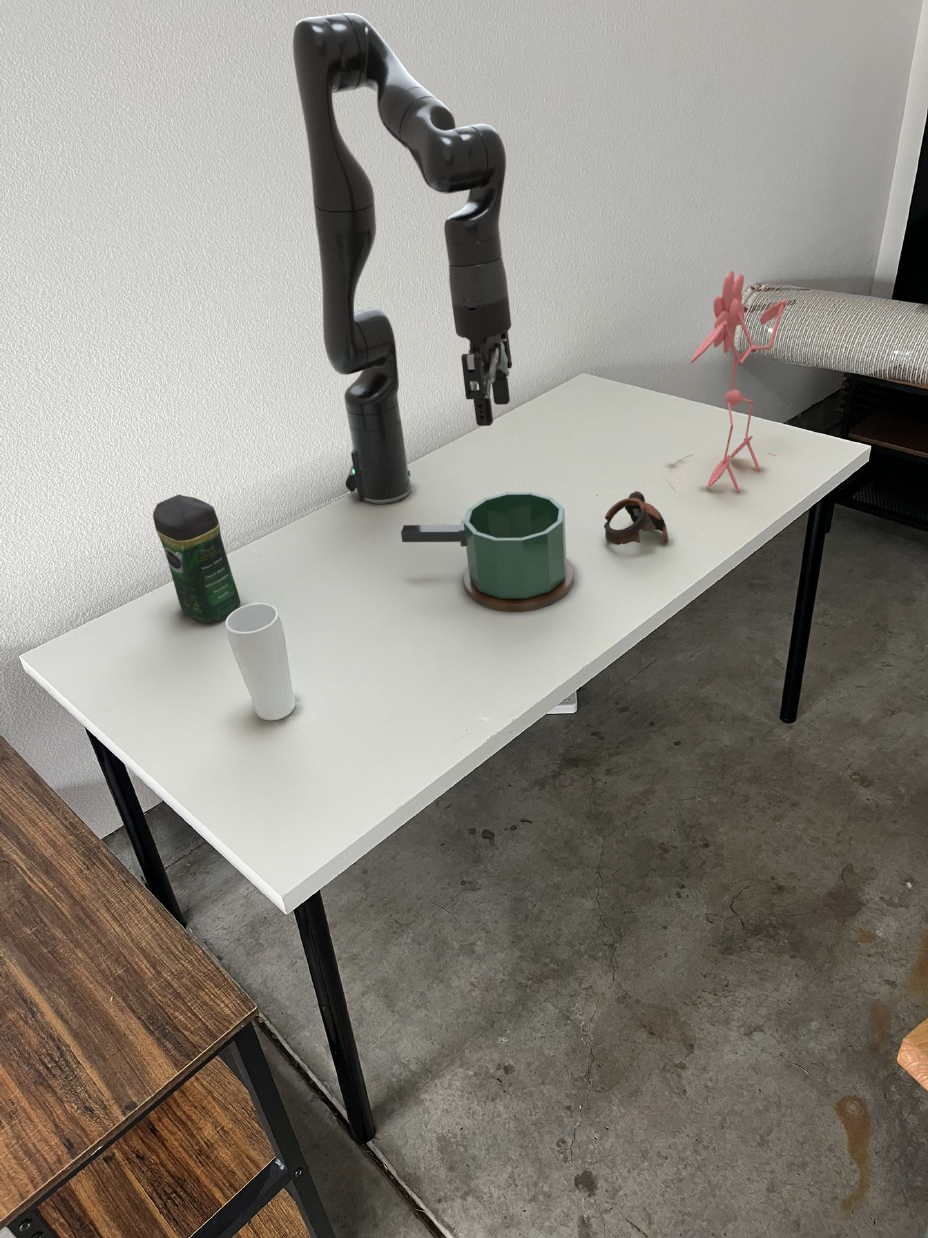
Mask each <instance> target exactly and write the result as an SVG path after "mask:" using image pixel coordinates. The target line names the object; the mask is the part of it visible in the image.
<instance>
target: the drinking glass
mask: <svg viewBox="0 0 928 1238" xmlns="http://www.w3.org/2000/svg"><path fill="white" fill-rule="evenodd" d="M224 623H225V624H224V625H225V630H226V633H227V634H226V635H227V637H228V641H229V645H230V649H231V651H232V654H233V656H234V657H233V658H234V659H235V662H236V664H237V667H238V669H239V671H240V674H241V677H242V679H243V682H244V684H245V687H246V689H247V691H248V694H249V696H250V699H251V701H252V704H253V708H254V711H255V713H256V715H257V716H258V717H259V718H260V719H262V720H265V721H278V720H282V719H284V718H286V717H288V716H289V715H290V714H291V713H292V712H293V711H294V709H295V706H296V699H295V694H294V689H293V684H292V676H291V670H290V664H289V657H288V648H287V642H286V641H287V640H286V636H285V632H284V628H283V624H282V621H281V617H280V614H279V611H278V609H277V608H276V607H275V606H273V605H272V604H269V603H263V602H257V603H256V602H255V603H250V604H246V605H243V606H239V608H238V609H236V610H235V611H233V612H232V613H231V614H230V615H229V616H228V617H227V618H225V622H224Z"/></svg>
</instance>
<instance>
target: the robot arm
mask: <svg viewBox="0 0 928 1238" xmlns="http://www.w3.org/2000/svg"><path fill="white" fill-rule="evenodd" d="M292 54H293V64H294V71H295V76H296V82H297V89H298V94H299V99H300V104H301V110H302V116H303V121H304V127H305V133H306V140H307V145H308V146H307V147H308V156H309V165H310V172H311V185H312V186H311V187H312V201H313V211H314V220H315V221H314V222H315V229H316V236H317V243H318V251H319V252H318V253H319V260H320V262H319V263H320V272H321V273H320V274H321V288H322V291H321V292H322V293H321V294H322V333H323V334H322V335H323V343H324V344H323V345H324V349H325V353H326V355H327V359H328V361H329V364H330V366H331V367H332V368H333V370H334V371H335V372H336V373H338V374H340V375H343V376H348V375H352V374H353V375H354V374H356V373H359V372H360V374H359V376H358V377H357V378H356V379H355V381H353V382H352V383H351V384H350V385H349V386H348V387H347V388H346V390H345V391H344V394H343V395H344V396H343V399H344V406H345V410H346V411H345V412H346V417H347V420H348V421H347V422H348V426H349V427H348V428H349V433H350V439H351V445H352V449H351V452H350V457H351V463H352V465H351V466H350V469H349V472H348V476H347V478H346V479H345V487H346V488H347V490H348V491H349V492H350V493H353V492H355V491H356V490H357V496H358V501H359V502H366V503H369V504H370V503H371V504H375V505H385V504H390V503H395V502H398V501H401V500H403V499H405V498H406V497H408V496H409V494H410V493H411V492H412V485H411V481H410V478H411V472H410V470H409V468H408V467H409V466H408V460H407V453H406V446H405V440H404V433H403V432H404V431H403V426H402V419H401V412H400V404H399V396H398V393H399V389H400V379H399V369H398V356H397V345H396V344H397V343H396V338H395V332H394V330H393V326H392V324H391V321H390V319H389V318H388V316H387V315H386V313H385V312H384V311H382V310H381V309H379V308H377V307H367V308H364V309H363V308H362V309H360V310H357V311H355V297H356V293H357V287H358V285H359V281H360V279H361V276H362V274H363V271H364V269H365V267H366V264H367V262H368V260H369V258H370V255H371V252H372V250H373V248H374V247H373V246H374V243H375V239H376V234H377V219H376V218H377V217H376V203H375V192H374V187H373V184H372V182H371V180H370V178H369V176H368V174H367V173H366V171H365V170H364V168H363V166H362V165H361V163H360V162H359V161H358V159H357V157H356V155H354V154H353V152H352V151H351V149H350V148H349V146H348V145H347V143H346V142H345V139H344V137H343V136H342V134H341V132H340V129H339V127H338V122H337V119H336V115H335V109H334V101H333V94H337V93H343V92H349V91H355V90H360V89H361V88H367V89H369V90H372V91H373V92H376V110H377V114H378V117H379V120H380V122H381V124H382V126H383V127H384V129H385V130H386V131H387V133H388V134H389V135H390V136H391V137H392V138H393V139H395V141H397V142H398V143H399V144H400V145H401V146H402V147H403V148H404V149H406V150H407V151H408V152H409V153H410V156H411V157H412V159H413V161H414V163H415V165H416V167H417V168H418V170H419V173H420V175H421V178H422V180H423V181H424V182H425V184H426V186H427V187H428V188H430V190H433V191H434V192H436V193H439V194H442V195H452V194H457V193H462V192H466V191H469V192H468V194H467V195H468V196H467V199H466V203H465V204H464V205H463V207H462V208H460V209H459V210H457V211H455V212H454V213H452V214H450V215H449V216H448V217H446V219H445V221H444V225H443V230H444V231H443V232H444V233H443V234H444V240H445V246H446V254H447V262H448V283H449V284H448V285H449V292H450V300H451V306H452V314H453V322H454V329H455V333H456V335H457V336H458V337H459V338H462V339H466V340H468V341H469V349H468V353H462V354H461V357H460V359H461V366H462V374H463V375H462V376H463V384H464V393H465V394H464V395H465V399H466V400H473V407H474V414H475V423H476V425H477V426H479V427H489V426H490V427H491V426H492V424H493V423H494V416H493V408H492V399H491V389H492V396H493V403H494V404H495V405H497V406H498V405H499V406H500V405H508V404H509V403H510V400H511V397H510V389H509V388H510V387H509V380H508V379H509V378H508V377H509V375H510V370H509V369H512V366H513V362H512V354H511V345H510V339H509V330H510V329H511V327H512V318H511V309H510V307H511V306H510V299H509V289H508V279H507V273H506V268H505V264H504V258H503V251H502V242H501V235H500V217H501V209H502V201H503V192H504V186H505V179H506V170H507V153H506V149H505V145H504V142H503V139H502V137H501V136H500V134H499V133H498V131H497V130H496V129H495V128H494V127H493V126H491V125H489V124H487V123H478V124H476V123H475V124H471V125H467V126H462V127H456V121H455V118H454V115H453V113H452V112H451V110H450V109H449V108H448V107H447V106H446V105H445V104H444V102H442V101H441V100H439V98H437V96H435V95H434V94H432V93H431V92H430V91H428V90H427V89H426V88H425V87H424V86H422V85H421V84H420V83H419V82H418V81H416V79H415V78H413V77H412V76H411V74H410V73H409V72H408V70H407V69H406V68H405V67H404V65H403V64H402V63H401V62H400V60H399V58H398V57H397V56H396V55H395V53H394V51H393V50H392V48H390V47H389V46H388V44H387V42H386V41H385V40H384V38H383V37H382V36H381V35H380V34H379V32H378V31H377V29H376V28H375V27H374V26H373V25H372V24H371V23H370V22H369V21H368V20H367V19H366V18H365V17H363V16H361V15H360V14H358V13H357V14H356V13H352V12H351V13H350V12H346V13H337V14H336V13H335V14H331V15H330V14H328V15H321V16H312V17H311V16H310V17H305V18H302V19H300V20H298V22H297V23H296V25H295V27H294V29H293V37H292Z"/></svg>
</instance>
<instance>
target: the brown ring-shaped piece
mask: <svg viewBox="0 0 928 1238" xmlns="http://www.w3.org/2000/svg"><path fill="white" fill-rule="evenodd" d="M623 509H624V510H625V511H626V512H627V514H628V515H629V516H630V519H631V521H632V524H630V525H629V526H627V527H625V528H621V529H614V528H613V527H611V525H610V524H611V521H612V520H613V519H614V517H615V516H616V515H617V514H618V513H619V512H620V511H621V510H623ZM604 519H605V520H606V522H605V523H604V525H603V528H604V530H605V531H604V532H605V533H604V537H605V540H606V541H607V542H608V543H611V544H613V545H616V546H620V545H627V544H629V543H633V542H634V543H638V544H641V543H642V541H641V535H640V534H641V533H640V531H643V532H648V531H649V532H650V531H652V532H653V531H655V530H656V531H659V532H661V536H662V538H663V541H664V544H665V545H668V544H669V534H668V528H667V525H666V522H665V519H664V518H663V515H662V514H661V512H660V511H659V510H658V509H657V508H656V507H655V506H654V505H652V504H651V503H648V502H646V499H645V495H644V494H643V493H642V492H641V491H637V490H635V491H634V492H631V493H630V494H629V495H628V497H626V498H623V499H621V500H619V501H617V502H616V503H615V504H614V505H612V506H611V507H610V508H609V509H608V510H607V512H606V513H605V516H604Z"/></svg>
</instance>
